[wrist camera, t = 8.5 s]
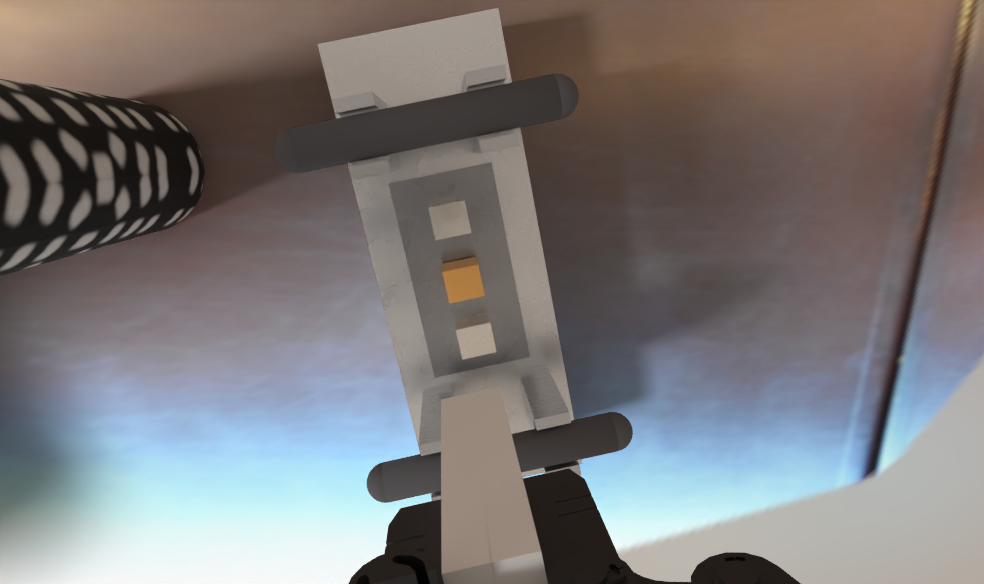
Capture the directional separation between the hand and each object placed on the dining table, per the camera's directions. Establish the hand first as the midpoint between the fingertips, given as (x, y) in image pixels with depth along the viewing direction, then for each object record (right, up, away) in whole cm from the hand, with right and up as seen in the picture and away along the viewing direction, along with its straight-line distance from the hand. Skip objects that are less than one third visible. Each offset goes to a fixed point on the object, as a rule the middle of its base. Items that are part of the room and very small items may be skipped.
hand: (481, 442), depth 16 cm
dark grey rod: (-3, +12, +14) cm, 18 cm away
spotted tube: (-23, +12, +24) cm, 35 cm away
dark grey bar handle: (+1, -5, +17) cm, 18 cm away
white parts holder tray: (-2, +6, +27) cm, 28 cm away
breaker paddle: (-2, +5, +21) cm, 22 cm away
